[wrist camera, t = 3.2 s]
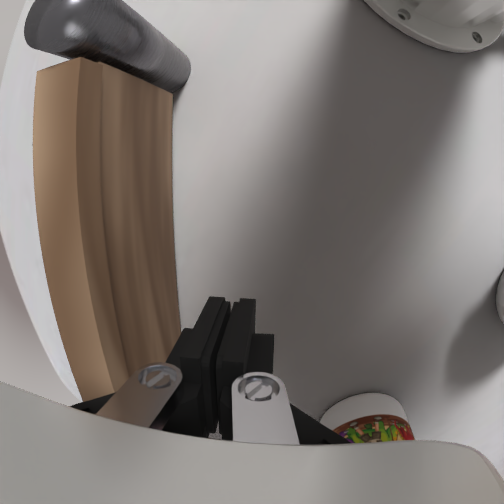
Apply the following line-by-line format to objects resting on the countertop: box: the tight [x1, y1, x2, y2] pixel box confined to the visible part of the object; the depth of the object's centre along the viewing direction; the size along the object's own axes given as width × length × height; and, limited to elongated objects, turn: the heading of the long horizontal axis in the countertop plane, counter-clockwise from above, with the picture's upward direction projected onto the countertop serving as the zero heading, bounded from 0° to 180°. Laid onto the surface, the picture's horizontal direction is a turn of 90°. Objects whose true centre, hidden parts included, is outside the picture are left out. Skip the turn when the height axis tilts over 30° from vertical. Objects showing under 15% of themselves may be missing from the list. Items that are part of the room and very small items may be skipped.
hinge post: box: [24, 0, 191, 93], centre depth 11 cm, size 3×3×11 cm
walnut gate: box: [33, 57, 181, 402], centre depth 15 cm, size 2×19×9 cm, turn 179°
